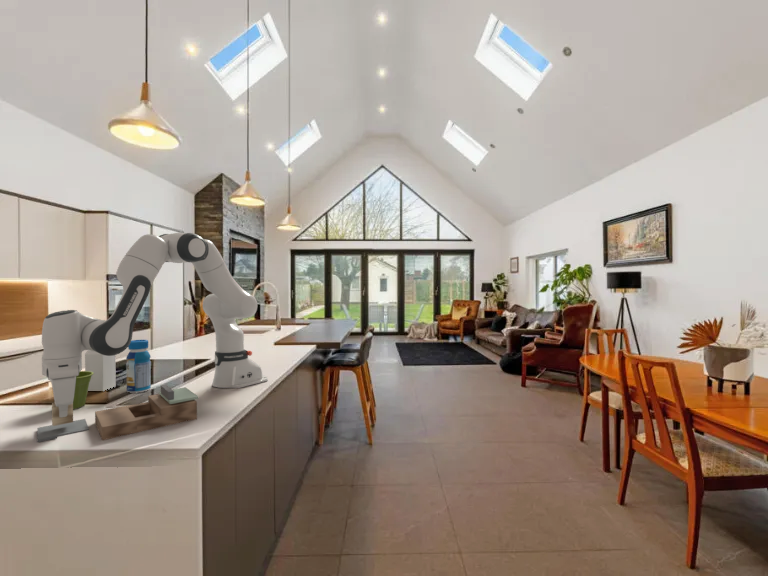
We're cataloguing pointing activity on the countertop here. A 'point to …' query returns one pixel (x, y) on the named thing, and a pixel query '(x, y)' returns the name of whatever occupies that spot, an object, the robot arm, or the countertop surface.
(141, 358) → the beverage bottle
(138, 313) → the robot arm
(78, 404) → the plant pot
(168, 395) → the sliding lid
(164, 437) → the countertop surface
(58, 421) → the maple block
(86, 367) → the milk carton
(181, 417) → the puzzle board
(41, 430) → the rubber pad
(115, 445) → the countertop surface
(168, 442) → the countertop surface
